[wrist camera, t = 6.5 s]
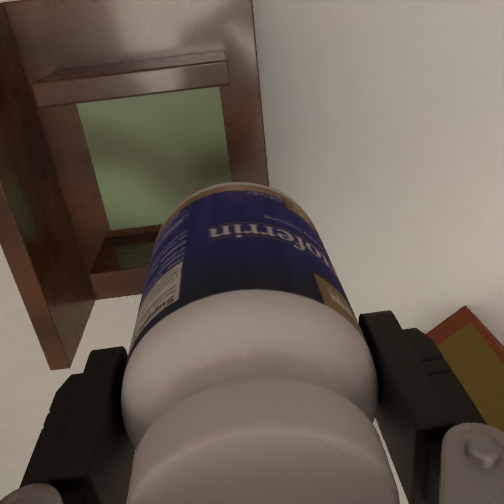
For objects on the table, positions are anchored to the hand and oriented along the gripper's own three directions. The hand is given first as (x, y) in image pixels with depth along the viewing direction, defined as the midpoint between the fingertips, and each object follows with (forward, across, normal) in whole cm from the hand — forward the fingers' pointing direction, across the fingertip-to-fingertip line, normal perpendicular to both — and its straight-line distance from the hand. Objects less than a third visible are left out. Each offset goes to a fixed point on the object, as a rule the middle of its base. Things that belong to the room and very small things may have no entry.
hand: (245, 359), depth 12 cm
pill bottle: (+6, 0, 0) cm, 6 cm away
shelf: (+22, +4, -1) cm, 22 cm away
